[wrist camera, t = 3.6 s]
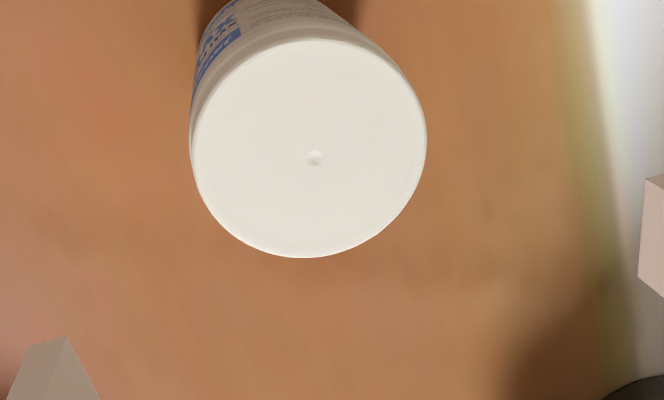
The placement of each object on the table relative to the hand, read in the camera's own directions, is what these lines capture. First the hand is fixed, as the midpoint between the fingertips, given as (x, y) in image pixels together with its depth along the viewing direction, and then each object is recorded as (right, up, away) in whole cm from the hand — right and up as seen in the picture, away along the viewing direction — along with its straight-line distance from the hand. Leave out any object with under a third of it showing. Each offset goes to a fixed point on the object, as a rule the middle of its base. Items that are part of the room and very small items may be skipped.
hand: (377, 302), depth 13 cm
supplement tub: (-4, +10, +22) cm, 25 cm away
